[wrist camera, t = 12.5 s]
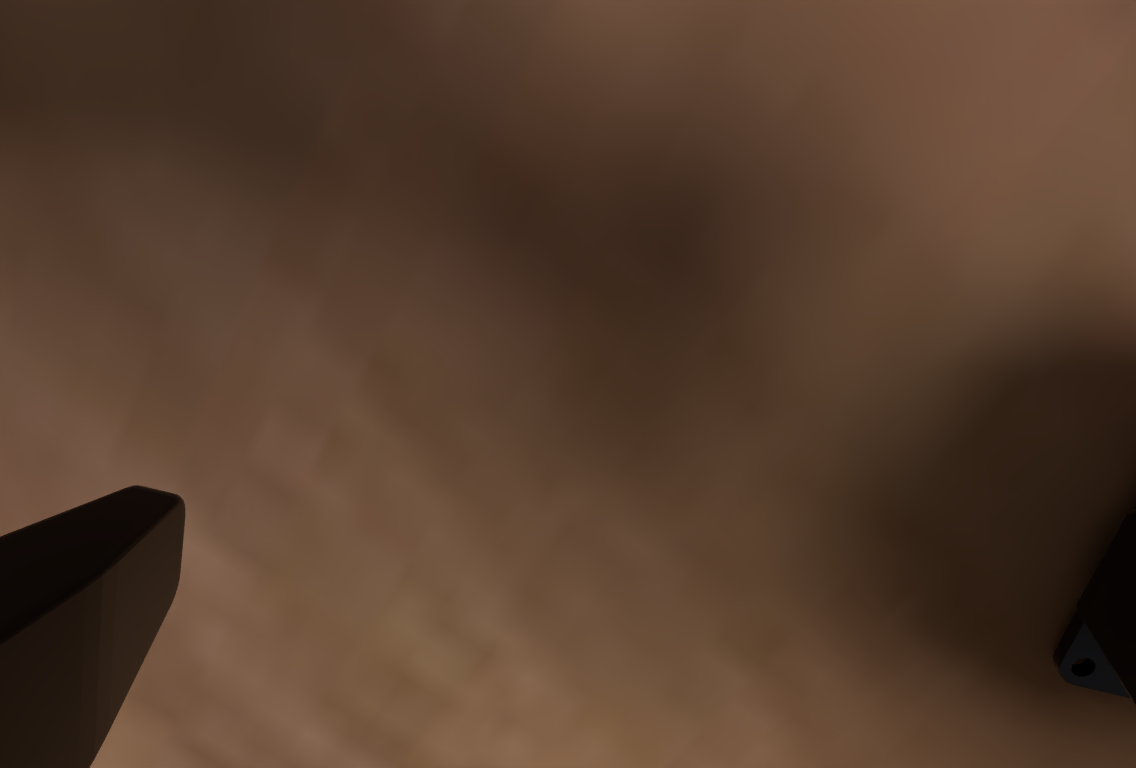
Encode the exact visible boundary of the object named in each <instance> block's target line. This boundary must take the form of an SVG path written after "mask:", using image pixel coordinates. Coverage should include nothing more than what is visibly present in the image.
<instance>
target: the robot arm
mask: <svg viewBox="0 0 1136 768" xmlns="http://www.w3.org/2000/svg"><path fill="white" fill-rule="evenodd" d="M184 525H185V504H184V501H183V499H182V498H181V497H180V496H179V495H177V494H174V493H169V492H165V491H161V490H157V489H153V488H148V487H144V486H138V485H135V486H131V487H127V488H124V489H122V490H119V491H117V492H114V493H111V494H109V495H106V496H104V497H101V498H98V499H96V500H93V501H91V502H88V503H86V504H83V505H80V506H78V507H75V508H73V509H70V510H68V511H65V512H62V513H60V514H57V515H55V516H52V517H50V518H47V519H44V520H42V521H39V522H37V523H34V524H31V525H29V526H26V527H24V528H21V529H19V530H16V531H13V532H11V533H8V534H6V535H3V536H1V537H0V768H89V767H90V766H91V764H92V762H93V761H94V759H95V757H96V755H97V753H98V751H99V749H100V748H101V746H102V744H103V742H104V740H105V738H106V736H107V734H108V732H109V730H110V728H111V726H112V724H113V722H114V720H115V718H116V716H117V714H118V712H119V710H120V708H121V706H122V704H123V702H124V700H125V698H126V696H127V694H128V692H129V689H130V687H131V685H132V683H133V681H134V679H135V677H136V675H137V673H138V671H139V669H140V667H141V665H142V663H143V661H144V659H145V657H146V655H147V653H148V651H149V649H150V647H151V645H152V643H153V641H154V639H155V637H156V635H157V633H158V631H159V629H160V627H161V625H162V623H163V620H164V618H165V616H166V614H167V612H168V610H169V608H170V606H171V604H172V602H173V599H174V597H175V594H176V591H177V587H178V583H179V579H180V571H181V559H182V548H183V536H184ZM1082 658H1087V659H1086V660H1085V661H1084V662H1083V663H1080V664H1073V663H1074V662H1075V661H1076V660H1079V659H1082ZM1053 660H1054V664H1055V666H1056V668H1057V670H1058V671H1059V673H1060V675H1061V677H1062V678H1063V679H1064V680H1065V681H1066V682H1068V683H1071V684H1073V685H1077V686H1081V687H1085V688H1089V689H1094V690H1098V691H1102V692H1106V693H1110V694H1115V695H1119V696H1123V697H1127V698H1131V699H1132V701H1133V703H1134V704H1135V706H1136V507H1135V509H1134V510H1133V511H1132V512H1131V513H1130V514H1128V515H1127V516H1126V518H1125V520H1124V522H1123V523H1122V525H1121V527H1120V529H1119V531H1118V532H1117V534H1116V536H1115V538H1114V539H1113V541H1112V543H1111V545H1110V547H1109V548H1108V550H1107V552H1106V554H1105V556H1104V557H1103V559H1102V561H1101V563H1100V564H1099V566H1098V568H1097V570H1096V572H1095V573H1094V575H1093V577H1092V579H1091V581H1090V582H1089V584H1088V586H1087V588H1086V590H1085V591H1084V593H1083V595H1082V597H1081V598H1080V600H1079V602H1078V604H1077V612H1076V614H1075V615H1074V617H1073V619H1072V621H1071V623H1070V624H1069V626H1068V628H1067V630H1066V631H1065V633H1064V635H1063V637H1062V639H1061V640H1060V642H1059V644H1058V646H1057V648H1056V649H1055V652H1054V655H1053Z"/></svg>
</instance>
